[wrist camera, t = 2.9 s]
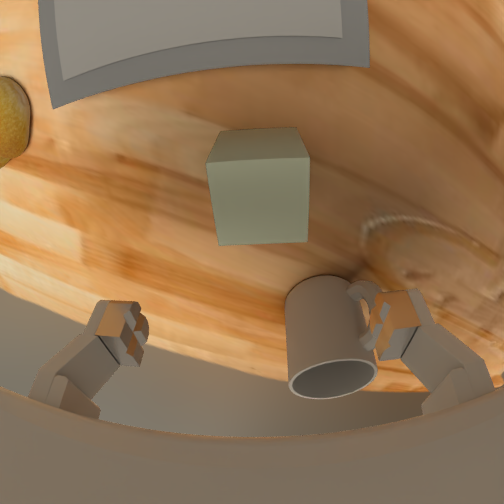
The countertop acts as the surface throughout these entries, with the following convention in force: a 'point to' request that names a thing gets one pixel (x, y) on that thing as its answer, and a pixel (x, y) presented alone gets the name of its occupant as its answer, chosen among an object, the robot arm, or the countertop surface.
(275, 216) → the sage block
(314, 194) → the countertop surface
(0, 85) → the bread roll
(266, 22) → the tray
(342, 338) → the cup
